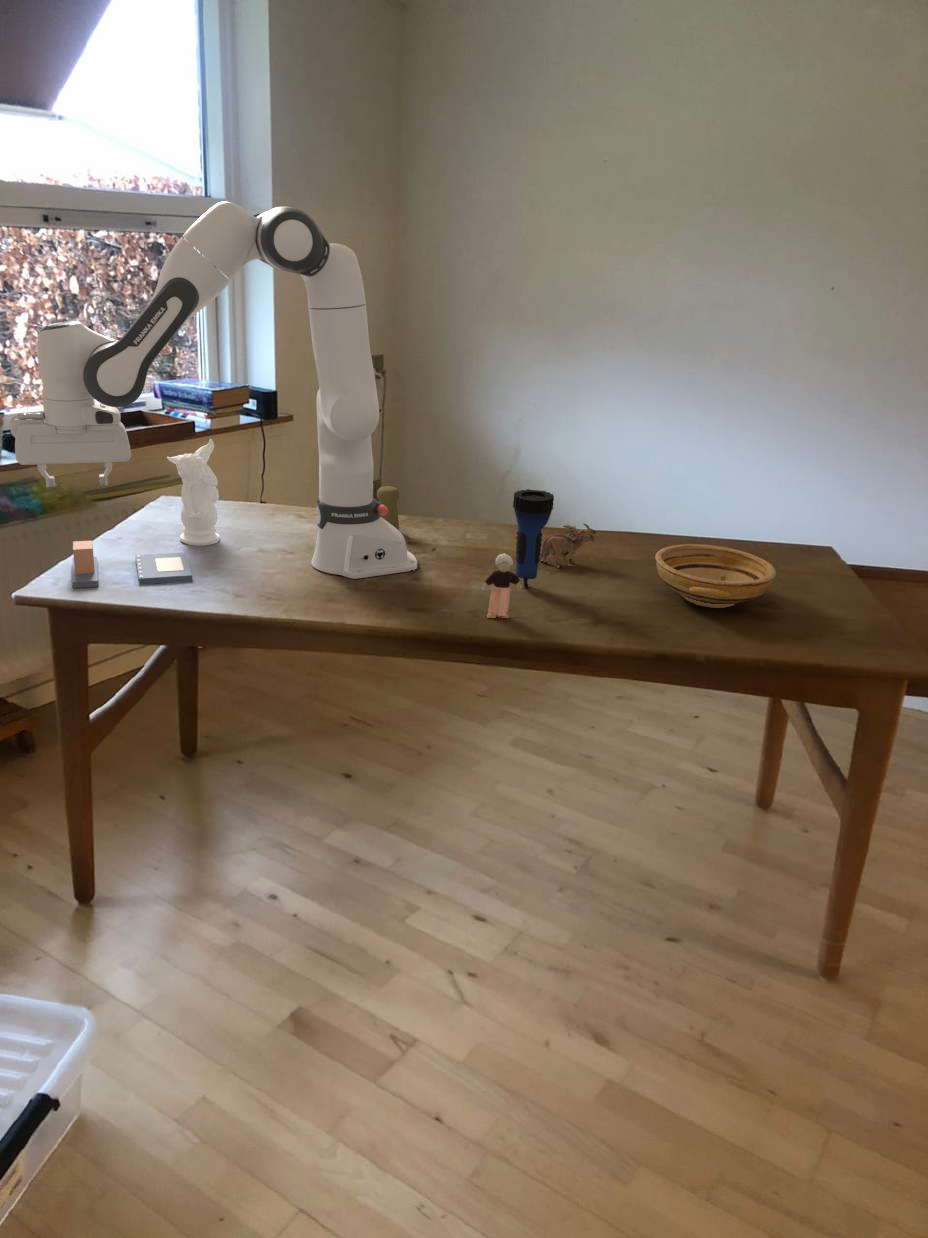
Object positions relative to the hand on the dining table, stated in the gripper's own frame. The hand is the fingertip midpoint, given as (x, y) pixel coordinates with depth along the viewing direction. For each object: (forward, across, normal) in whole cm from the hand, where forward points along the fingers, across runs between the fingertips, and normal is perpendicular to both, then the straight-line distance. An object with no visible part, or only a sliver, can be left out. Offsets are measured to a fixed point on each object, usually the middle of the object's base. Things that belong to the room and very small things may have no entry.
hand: (77, 485), depth 182 cm
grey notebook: (+18, +14, 0) cm, 23 cm away
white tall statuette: (+19, +22, +20) cm, 35 cm away
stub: (+18, 0, 0) cm, 18 cm away
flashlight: (+19, +84, -24) cm, 90 cm away
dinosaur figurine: (+19, +98, -11) cm, 101 cm away
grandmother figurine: (+19, +73, -37) cm, 84 cm away
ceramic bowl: (+20, +120, -37) cm, 127 cm away
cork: (+19, +66, +17) cm, 71 cm away
